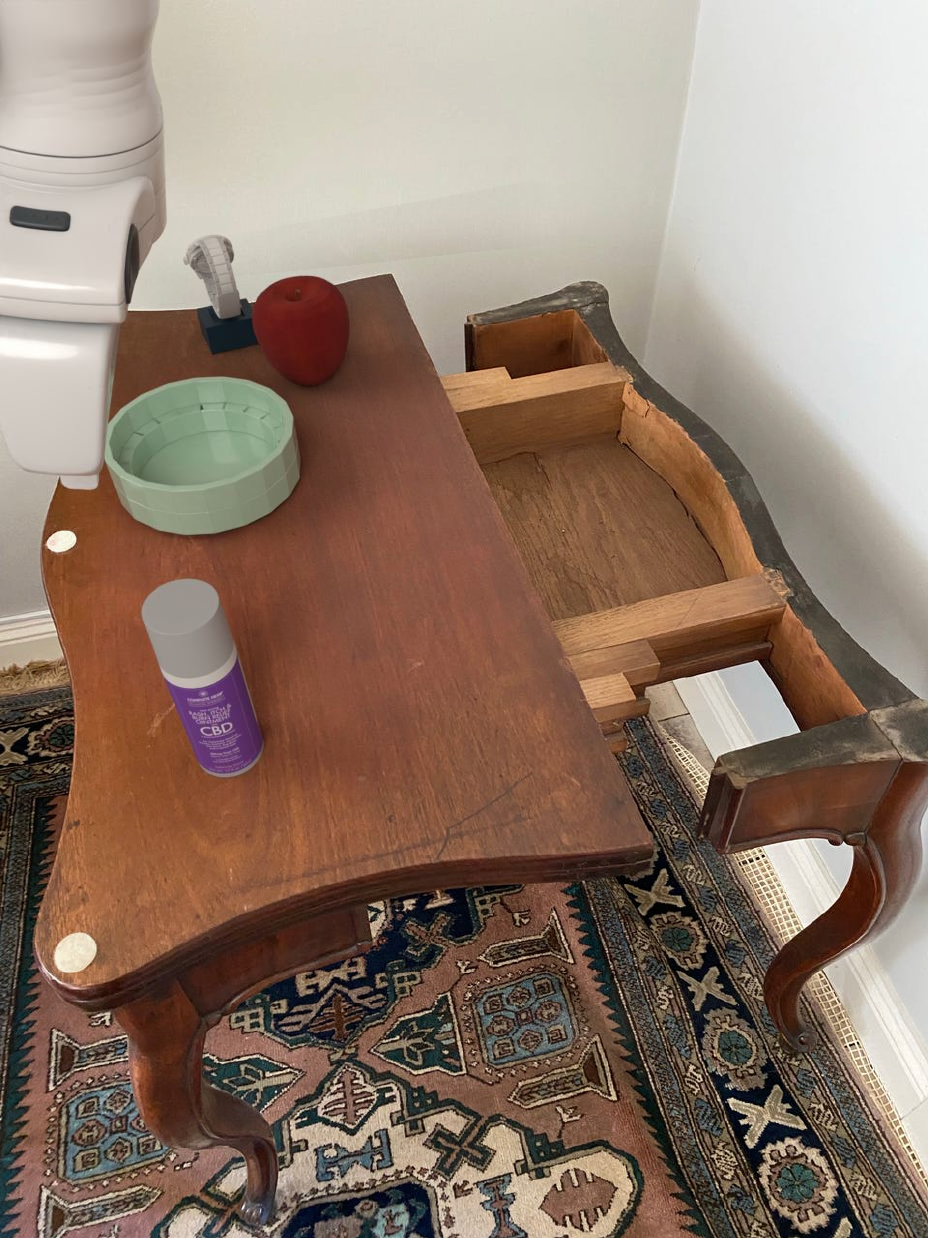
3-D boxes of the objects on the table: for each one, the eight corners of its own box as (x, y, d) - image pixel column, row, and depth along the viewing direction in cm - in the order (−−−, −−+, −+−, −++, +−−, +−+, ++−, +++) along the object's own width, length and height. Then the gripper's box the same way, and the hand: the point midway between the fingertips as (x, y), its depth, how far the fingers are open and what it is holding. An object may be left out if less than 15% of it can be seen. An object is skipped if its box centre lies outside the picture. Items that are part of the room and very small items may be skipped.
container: (218, 790, 61) (163, 649, 50) (184, 746, 64) (124, 602, 52) (277, 751, 63) (236, 608, 52) (241, 711, 66) (195, 565, 55)
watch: (246, 315, 102) (227, 218, 94) (266, 350, 97) (247, 252, 89) (197, 326, 101) (173, 228, 93) (215, 362, 96) (191, 263, 88)
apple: (247, 368, 95) (228, 279, 88) (326, 339, 99) (314, 251, 91) (290, 411, 90) (274, 320, 83) (372, 379, 94) (363, 289, 86)
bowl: (135, 560, 76) (116, 511, 72) (108, 448, 86) (90, 399, 82) (322, 510, 80) (315, 461, 76) (276, 409, 90) (267, 361, 86)
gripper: (16, 64, 45) (51, 307, 56) (-65, 297, 33) (0, 553, 43) (149, 85, 47) (159, 317, 57) (119, 315, 35) (139, 557, 45)
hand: (90, 421), depth 50 cm, fingers open, 8 cm apart
